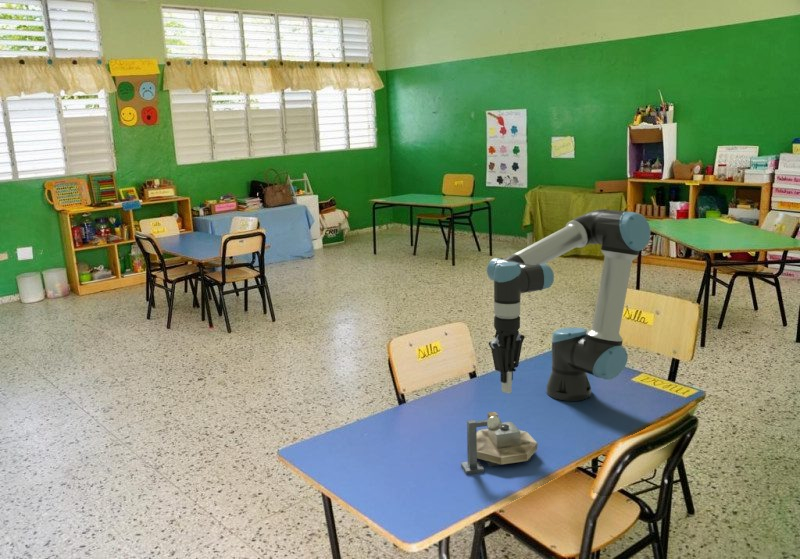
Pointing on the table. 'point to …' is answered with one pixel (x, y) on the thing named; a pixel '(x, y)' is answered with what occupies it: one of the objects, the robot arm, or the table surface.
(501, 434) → the cover
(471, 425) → the dial post
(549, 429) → the table surface
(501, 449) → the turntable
